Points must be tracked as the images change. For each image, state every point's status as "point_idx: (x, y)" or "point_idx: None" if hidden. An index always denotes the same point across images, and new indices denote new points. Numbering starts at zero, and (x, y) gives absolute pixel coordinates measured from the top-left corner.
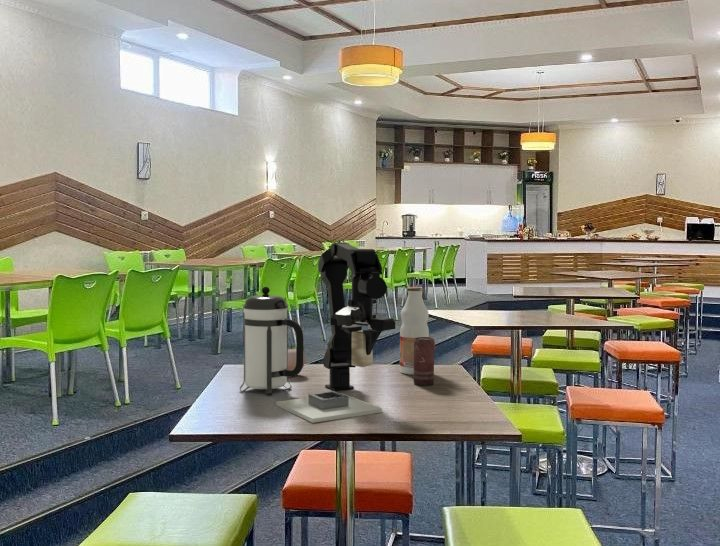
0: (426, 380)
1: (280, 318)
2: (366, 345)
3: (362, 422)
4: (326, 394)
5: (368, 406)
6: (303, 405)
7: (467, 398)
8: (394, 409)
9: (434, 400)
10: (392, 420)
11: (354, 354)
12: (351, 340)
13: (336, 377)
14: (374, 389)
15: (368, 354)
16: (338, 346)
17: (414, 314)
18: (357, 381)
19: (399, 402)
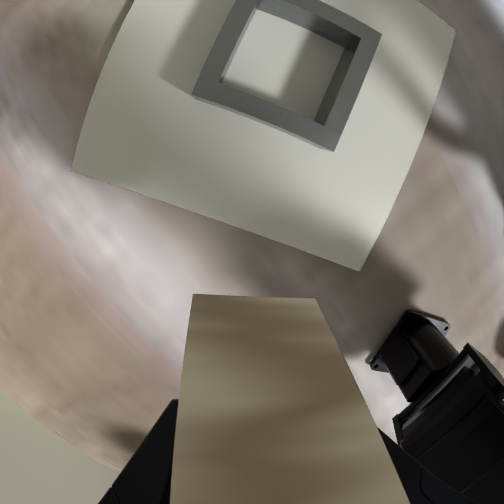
0: None
1: None
2: (158, 471)
3: (58, 22)
4: (334, 96)
5: (125, 155)
6: (358, 12)
7: (68, 425)
8: (76, 234)
9: (90, 387)
10: (4, 116)
11: (305, 358)
12: (409, 477)
13: (429, 346)
14: None
15: (173, 408)
16: (483, 426)
17: None
18: (391, 412)
19: (133, 323)
